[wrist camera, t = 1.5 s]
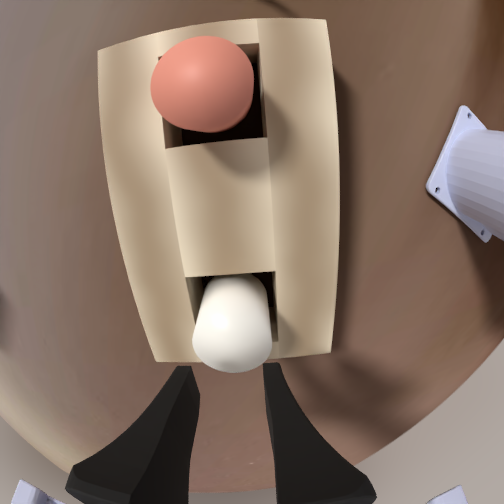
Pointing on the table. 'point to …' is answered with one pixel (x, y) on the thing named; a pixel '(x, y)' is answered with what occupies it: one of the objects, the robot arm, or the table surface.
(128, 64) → the press housing
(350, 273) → the table surface
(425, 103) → the table surface
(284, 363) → the table surface
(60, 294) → the table surface
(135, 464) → the robot arm
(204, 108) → the pink rounded plug
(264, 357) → the ivory plunger
